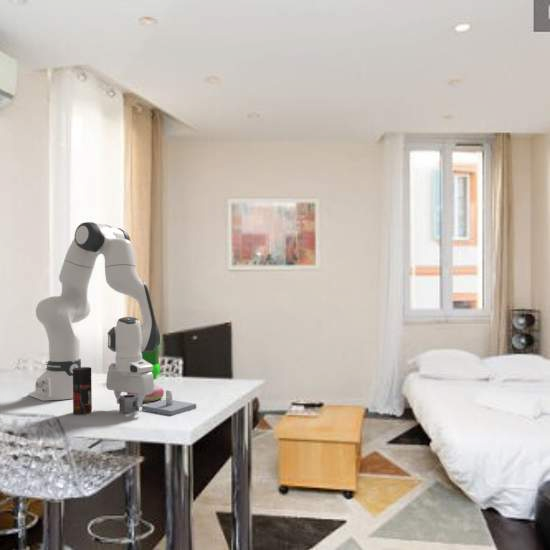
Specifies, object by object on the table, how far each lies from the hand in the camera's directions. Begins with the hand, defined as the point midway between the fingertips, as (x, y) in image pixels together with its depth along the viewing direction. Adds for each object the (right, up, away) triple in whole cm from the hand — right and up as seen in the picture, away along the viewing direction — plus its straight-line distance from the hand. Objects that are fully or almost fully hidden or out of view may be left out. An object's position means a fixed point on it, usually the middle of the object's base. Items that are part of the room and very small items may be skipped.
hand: (129, 405), depth 188 cm
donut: (+1, -2, +18) cm, 18 cm away
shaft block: (+13, -2, +2) cm, 14 cm away
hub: (0, -2, 0) cm, 2 cm away
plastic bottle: (-7, -3, +63) cm, 64 cm away
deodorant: (-16, -2, -2) cm, 16 cm away
